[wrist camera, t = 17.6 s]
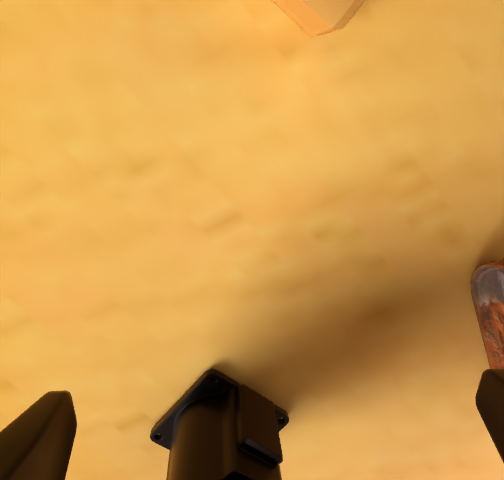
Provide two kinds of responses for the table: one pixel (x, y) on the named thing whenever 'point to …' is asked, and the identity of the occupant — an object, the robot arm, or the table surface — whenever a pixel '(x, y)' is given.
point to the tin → (490, 309)
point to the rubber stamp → (320, 13)
